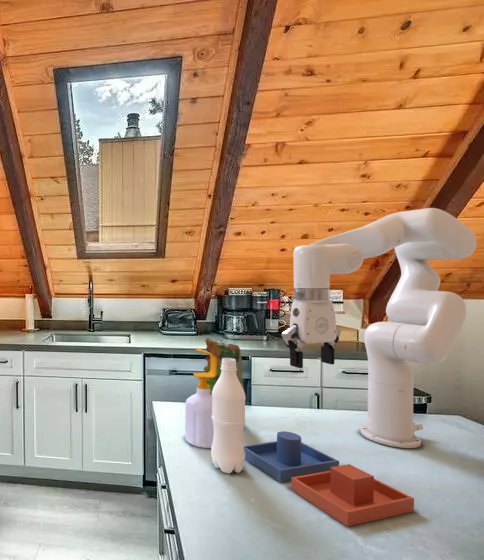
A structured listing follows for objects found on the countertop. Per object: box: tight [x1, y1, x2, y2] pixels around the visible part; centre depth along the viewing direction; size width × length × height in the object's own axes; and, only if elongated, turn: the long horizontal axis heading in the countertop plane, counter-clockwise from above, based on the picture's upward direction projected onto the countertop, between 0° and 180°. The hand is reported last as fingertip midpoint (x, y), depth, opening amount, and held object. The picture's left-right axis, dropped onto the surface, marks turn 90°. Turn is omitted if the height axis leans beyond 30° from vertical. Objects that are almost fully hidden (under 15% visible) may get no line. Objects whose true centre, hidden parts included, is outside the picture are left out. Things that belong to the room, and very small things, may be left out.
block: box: [330, 463, 375, 506], centre depth 76 cm, size 5×5×5 cm
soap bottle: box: [184, 347, 217, 449], centre depth 102 cm, size 9×9×25 cm
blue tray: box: [244, 440, 340, 483], centre depth 90 cm, size 16×12×2 cm
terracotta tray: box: [290, 471, 415, 527], centre depth 76 cm, size 16×12×2 cm
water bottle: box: [210, 358, 247, 474], centre depth 88 cm, size 7×7×25 cm
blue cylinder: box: [276, 430, 302, 466], centre depth 90 cm, size 5×5×6 cm
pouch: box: [203, 337, 246, 427], centre depth 114 cm, size 11×12×25 cm
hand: (312, 365), depth 94 cm, fingers open, 9 cm apart
